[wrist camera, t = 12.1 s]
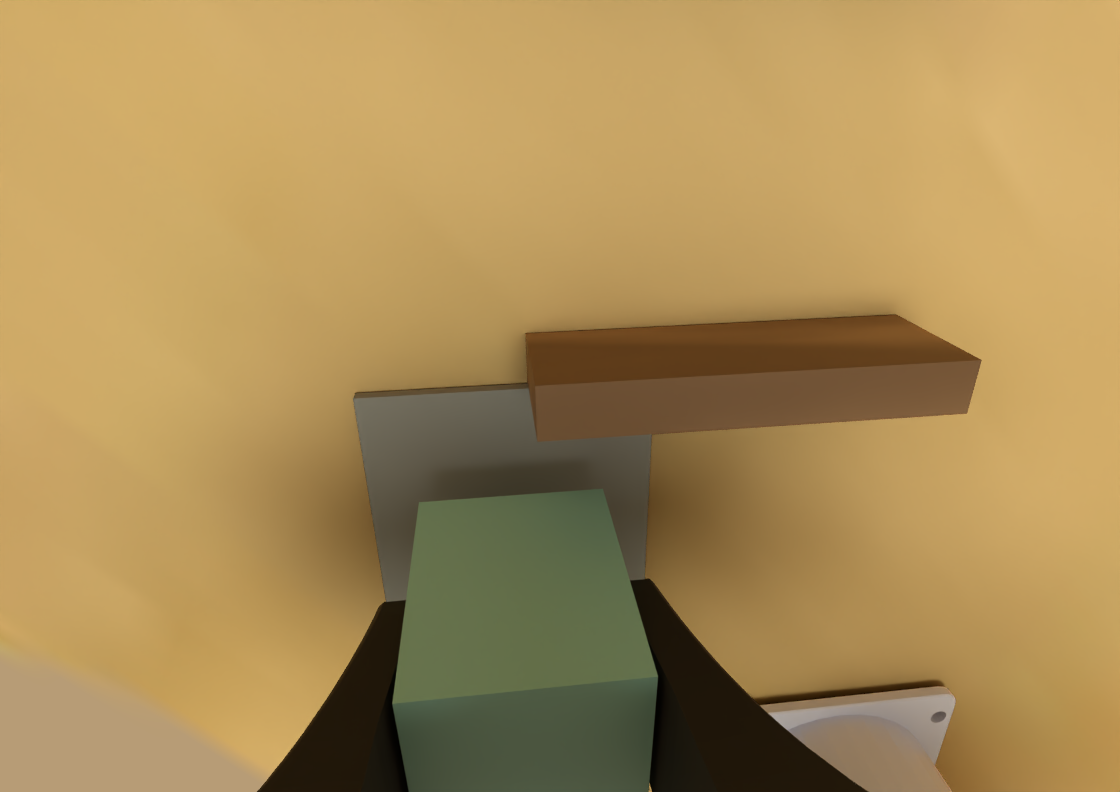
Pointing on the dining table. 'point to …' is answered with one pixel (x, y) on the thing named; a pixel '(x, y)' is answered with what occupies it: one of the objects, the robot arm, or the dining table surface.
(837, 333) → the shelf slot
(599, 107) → the dining table surface
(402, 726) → the block
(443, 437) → the mat
